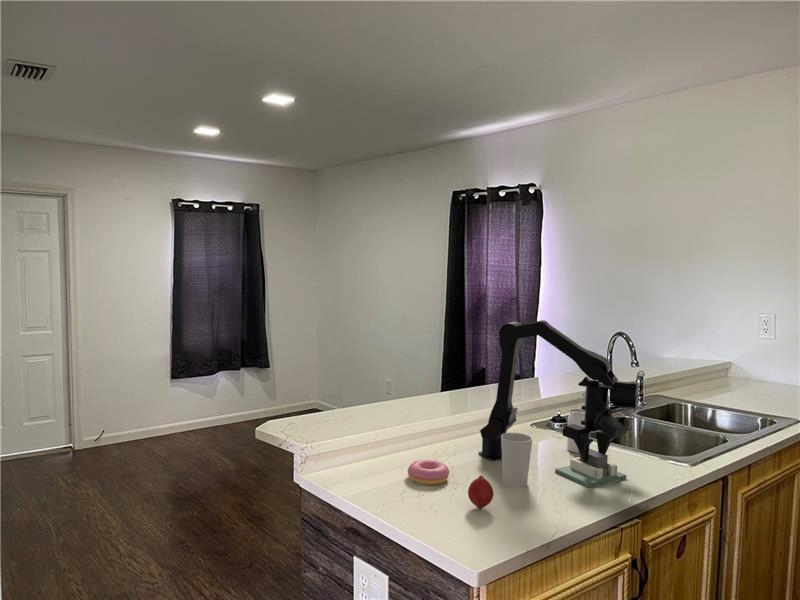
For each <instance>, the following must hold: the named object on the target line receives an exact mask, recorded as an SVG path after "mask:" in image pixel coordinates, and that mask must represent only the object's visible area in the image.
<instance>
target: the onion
mask: <svg viewBox="0 0 800 600" xmlns="http://www.w3.org/2000/svg"><path fill="white" fill-rule="evenodd" d="M493 488H494V487H492V485H491V483H490V482H489V480H487V479H486V478H485V477H484V475H483V474H480V475H479V476H478V477H476V478H475V479H474V480H472V482H470V485H469V486H468V489H467V496H468V499H469V501H470V502H471V503H472V504H473V505H474V506H475V507H476V508H477V509H479V510H482V509H484V508H486V506H487V505H489V504H490V503H491V502H492V501H493V498H494V489H493Z"/></svg>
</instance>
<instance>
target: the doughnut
mask: <svg viewBox="0 0 800 600" xmlns="http://www.w3.org/2000/svg"><path fill="white" fill-rule="evenodd" d="M407 475H408V477H409V479H410V480H411V481H413V482H414V483H416V484H418V485H424V486H436V485H440V484H443V483H444V482H446V481H447V480H448V479H449V475H450V468H449V467H448V466H447V465H446V464H445V463H443V461H439V460H436V459H420V460H415V461H413V462H412V463H410V464H409V466H408V468H407Z"/></svg>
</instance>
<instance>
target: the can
mask: <svg viewBox="0 0 800 600" xmlns="http://www.w3.org/2000/svg"><path fill="white" fill-rule="evenodd" d="M584 419H585V410H582V409H571V410H570V411H569V414H568V419H567V420H568V421H567V425H572V424H576V425H579V426H582V427H585V425H582V424H581V421H582V420H584ZM566 438H567V440H566V442H567V443H566V449H567V451H569V452H571V453H574V454H580V452H579V450H578V447H577V445H576V443H575V442H574V440H573V439H571V438H568V437H566Z"/></svg>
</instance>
